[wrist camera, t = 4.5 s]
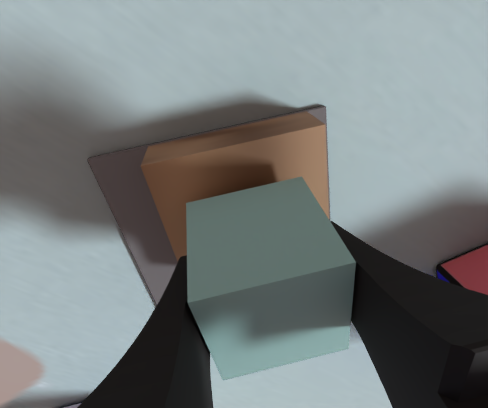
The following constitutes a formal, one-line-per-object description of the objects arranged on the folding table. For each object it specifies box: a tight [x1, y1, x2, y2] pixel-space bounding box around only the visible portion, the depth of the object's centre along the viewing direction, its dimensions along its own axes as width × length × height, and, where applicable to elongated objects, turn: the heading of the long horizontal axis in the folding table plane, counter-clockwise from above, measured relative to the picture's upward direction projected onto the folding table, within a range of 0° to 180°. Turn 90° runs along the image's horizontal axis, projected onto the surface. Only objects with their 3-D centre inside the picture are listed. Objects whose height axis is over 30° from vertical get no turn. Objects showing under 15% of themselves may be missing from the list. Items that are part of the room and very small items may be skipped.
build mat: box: [87, 106, 330, 304], centre depth 18 cm, size 12×12×1 cm
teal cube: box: [186, 176, 356, 380], centre depth 12 cm, size 5×5×5 cm
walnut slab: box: [141, 111, 329, 261], centre depth 16 cm, size 8×8×2 cm
